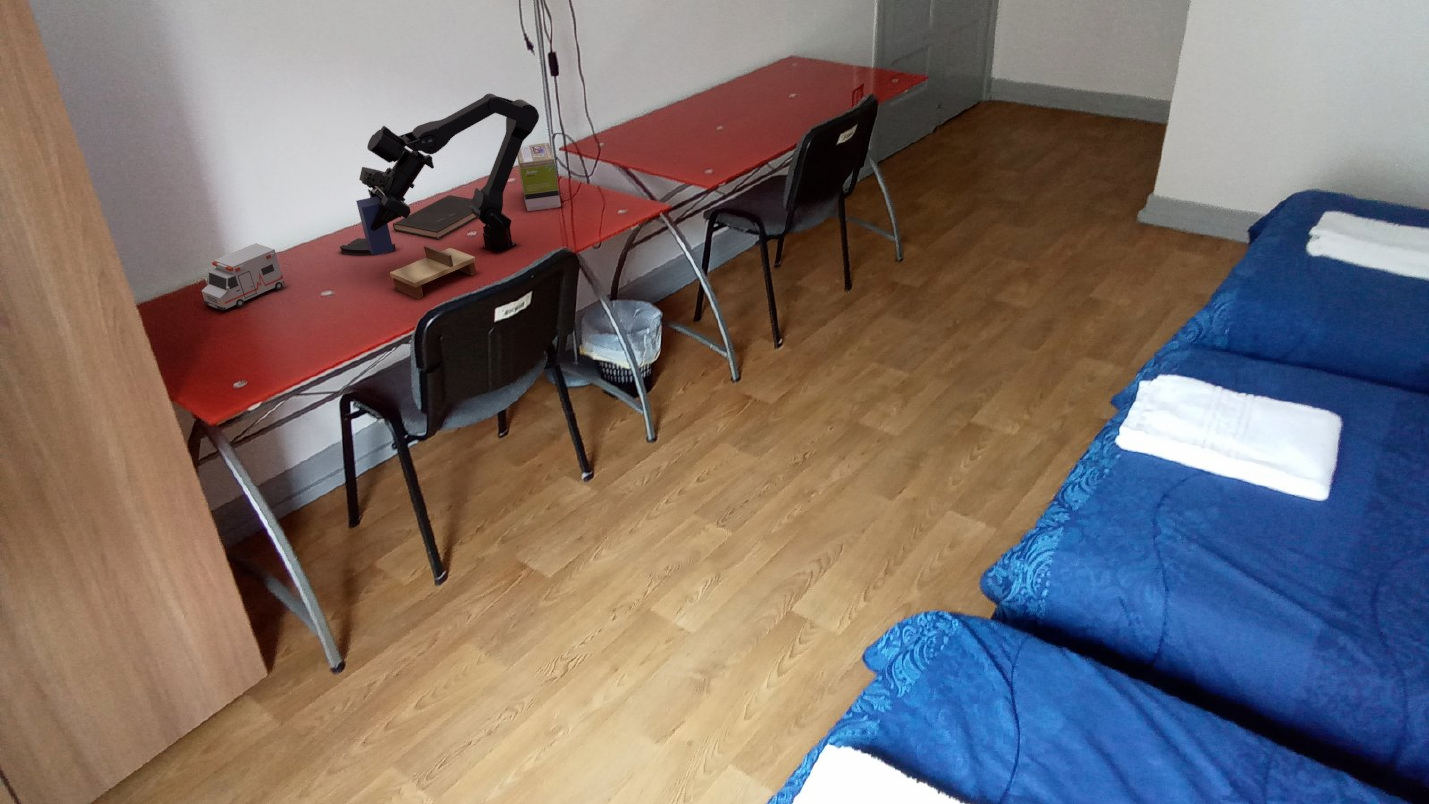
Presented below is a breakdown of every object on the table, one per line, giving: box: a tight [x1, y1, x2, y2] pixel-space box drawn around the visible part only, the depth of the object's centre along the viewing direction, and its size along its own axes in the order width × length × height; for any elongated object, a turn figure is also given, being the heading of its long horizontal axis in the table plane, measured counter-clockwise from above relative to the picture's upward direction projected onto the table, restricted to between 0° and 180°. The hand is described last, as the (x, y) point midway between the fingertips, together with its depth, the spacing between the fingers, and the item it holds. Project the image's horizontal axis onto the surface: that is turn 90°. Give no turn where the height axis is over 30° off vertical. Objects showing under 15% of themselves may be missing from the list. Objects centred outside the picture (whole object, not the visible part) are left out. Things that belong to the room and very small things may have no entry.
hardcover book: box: [392, 194, 478, 240], centre depth 278 cm, size 16×23×2 cm
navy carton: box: [355, 196, 395, 257], centre depth 241 cm, size 5×6×12 cm
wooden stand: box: [389, 245, 477, 300], centre depth 242 cm, size 18×10×8 cm, turn 140°
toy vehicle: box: [201, 242, 285, 311], centre depth 238 cm, size 10×17×10 cm, turn 146°
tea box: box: [516, 142, 562, 212], centre depth 284 cm, size 15×10×15 cm, turn 14°
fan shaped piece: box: [339, 237, 397, 256], centre depth 262 cm, size 8×14×2 cm, turn 71°
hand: (369, 225), depth 241 cm, fingers closed on navy carton, 5 cm apart
